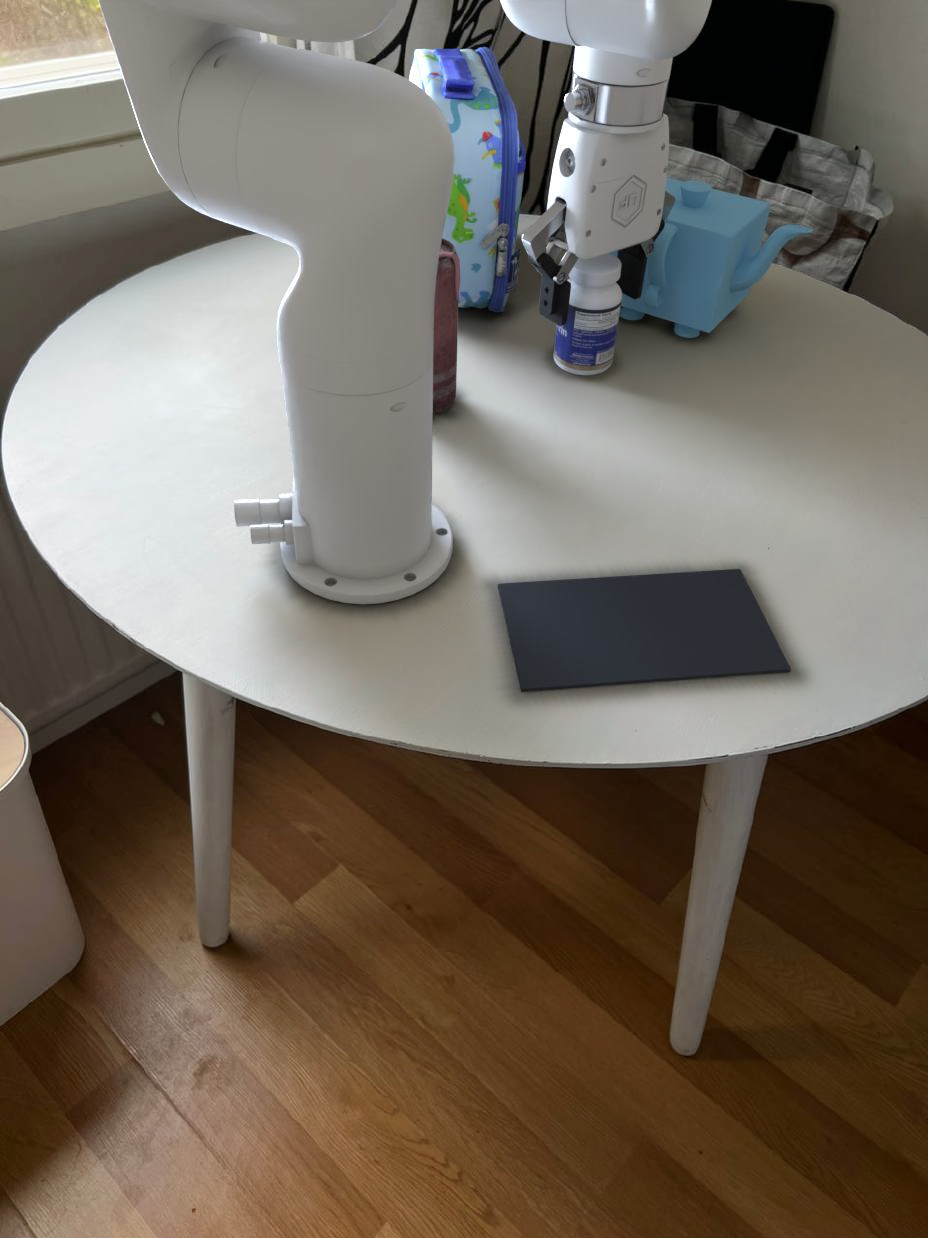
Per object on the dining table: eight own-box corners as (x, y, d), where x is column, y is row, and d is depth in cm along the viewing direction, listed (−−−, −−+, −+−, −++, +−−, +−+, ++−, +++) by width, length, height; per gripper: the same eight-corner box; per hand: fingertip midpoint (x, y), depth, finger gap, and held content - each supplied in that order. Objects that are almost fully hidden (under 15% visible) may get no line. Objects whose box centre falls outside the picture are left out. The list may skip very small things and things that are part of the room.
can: (450, 424, 80) (454, 267, 70) (380, 414, 81) (374, 258, 71) (464, 389, 84) (469, 236, 75) (397, 380, 85) (394, 228, 75)
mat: (521, 692, 58) (521, 689, 58) (497, 586, 65) (497, 583, 65) (790, 672, 60) (791, 668, 60) (739, 571, 67) (740, 568, 67)
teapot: (585, 322, 95) (602, 192, 86) (650, 271, 104) (671, 149, 95) (751, 376, 88) (788, 241, 79) (804, 315, 97) (843, 188, 88)
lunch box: (521, 329, 93) (540, 101, 78) (415, 332, 92) (414, 100, 77) (488, 227, 111) (498, 26, 97) (399, 228, 110) (396, 25, 96)
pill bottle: (551, 346, 91) (562, 246, 84) (609, 349, 91) (624, 249, 84) (553, 376, 87) (565, 273, 80) (614, 378, 87) (630, 276, 80)
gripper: (567, 131, 67) (545, 348, 79) (727, 94, 74) (684, 297, 87) (502, 103, 71) (491, 314, 83) (660, 71, 79) (628, 269, 91)
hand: (590, 305), depth 85 cm, fingers open, 8 cm apart
